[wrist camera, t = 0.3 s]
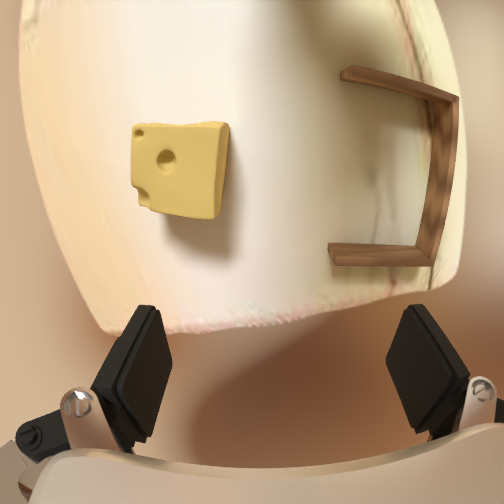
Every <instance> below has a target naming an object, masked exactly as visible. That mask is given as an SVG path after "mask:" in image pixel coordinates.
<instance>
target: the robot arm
mask: <svg viewBox="0 0 504 504" xmlns="http://www.w3.org/2000/svg"><path fill="white" fill-rule="evenodd" d="M386 365H387V368H388V370H389V372H390V375H391V377H392V380H393V382H394V385H395V387H396V390H397V392H398V394H399V397H400V399H401V402H402V405H403V407H404V410H405V413H406V415H407V418H408V421H409V424H410V426H411V427H412V428H414V430H415V432H416V434H418V433H421V432H424V431H427V430H429V433H430V435H429V437H428V440H427V442H426V443H423V444H420V445H417V446H413V447H410V448H407V449H403V450H399V451H396V452H392V453H388V454H384V455H380V456H375V457H370V458H365V459H360V460H354V461H349V462H342V463H336V464H328V465H319V466H309V467H297V468H271V469H270V468H269V469H250V468H249V469H248V468H227V467H214V466H203V465H195V464H186V463H179V462H173V461H166V460H161V459H155V458H150V457H145V456H139V455H136V454H135V452H134V450H133V448H132V447H134V444H135V441H137V442H142V443H146V439H147V437H151V435H152V433H153V429H154V426H155V422H156V419H157V415H158V412H159V409H160V405H161V402H162V398H163V395H164V391H165V388H166V385H167V382H168V379H169V375H170V372H171V369H172V357H171V353H170V350H169V346H168V342H167V338H166V334H165V330H164V326H163V322H162V318H161V313H160V311H159V310H156V308H155V306H152V305H139V306H138V307H137V309H136V311H135V312H134V314H133V316H132V317H131V319H130V321H129V323H128V324H127V326H126V328H125V330H124V331H123V333H122V335H121V336H120V337H118V339H117V340H116V341H115V343H114V345H113V346H112V348H111V350H110V352H109V354H108V356H107V357H106V359H105V361H104V363H103V365H102V367H101V369H100V370H99V372H98V374H97V376H96V378H95V380H94V382H93V384H92V386H91V388H90V389H88V388H85V387H78V388H74V389H72V390H70V391H68V392H67V393H66V394H65V395H64V396H63V398H62V399H61V403H60V409H59V410H57V411H54V412H52V413H49V414H47V415H44V416H41V417H39V418H36V419H34V420H32V421H28V422H26V423H24V424H22V425H21V426H20V427H19V428H18V431H17V432H16V437H15V438H16V441H15V442H13V441H12V440H10V441H9V442H8V443H6V444H5V445H4V446H2V447H1V448H0V504H504V401H503V400H501V399H498V398H497V391H496V388H495V386H494V384H493V383H492V382H491V381H490V380H489V379H487V378H485V377H481V376H478V377H474V378H472V379H471V381H470V380H469V379H468V377H469V376H470V373H469V371H468V369H467V368H466V366H465V364H464V363H463V361H462V360H461V358H460V356H459V355H458V353H457V352H456V350H455V349H454V347H453V346H452V344H451V343H450V341H449V340H448V338H447V337H446V335H445V334H444V332H443V331H442V330H441V328H440V327H439V325H438V324H437V323H436V321H435V320H434V319H433V317H432V316H431V314H430V313H429V312H428V310H427V309H426V307H425V306H424V305H423V304H414V305H409V306H408V308H407V309H405V310H404V312H403V315H402V318H401V321H400V323H399V326H398V329H397V331H396V334H395V336H394V339H393V342H392V344H391V347H390V349H389V352H388V354H387V356H386Z"/></svg>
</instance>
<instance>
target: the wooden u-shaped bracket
mask: <svg viewBox="0 0 504 504" xmlns="http://www.w3.org/2000/svg"><path fill="white" fill-rule="evenodd" d="M341 80H344V81H350V82H356V83H361V84H366V85H371V86H376V87H380V88H385V89H389V90H393V91H397V92H401V93H405V94H408V95H412V96H415V97H419V98H422V99H425V100H428V101H431V102H434V130H433V143H432V154H431V163H430V172H429V179H428V186H427V192H426V198H425V204H424V209H423V214H422V219H421V224H420V229H419V233H418V238H417V242H416V246H403V245H378V244H351V243H329V244H328V252H329V254H330V256H331V258H332V260H333V262H334V264H335V266H425V267H433V266H434V263H435V259H436V256H437V252H438V249H439V245H440V241H441V237H442V233H443V229H444V225H445V220H446V216H447V211H448V206H449V201H450V195H451V189H452V183H453V176H454V169H455V161H456V151H457V140H458V123H459V97H458V96H456V95H453V94H451V93H448V92H446V91H443V90H440V89H438V88H435V87H432V86H429V85H426V84H423V83H420V82H417V81H414V80H411V79H408V78H404V77H401V76H397V75H393V74H390V73H386V72H382V71H377V70H373V69H369V68H364V67H359V66H354V65H351V66H350V67H348V68H347V69H345V70H343V71H342V72H341Z"/></svg>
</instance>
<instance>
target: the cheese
mask: <svg viewBox="0 0 504 504" xmlns="http://www.w3.org/2000/svg"><path fill="white" fill-rule="evenodd" d="M229 132H230V127H229V125H228V124H227V123H225V122H216V121H211V122H202V123H196V124H188V125H171V124H161V123H149V124H136V125H133V127H132V143H131V185H132V186H133V187H134V188H136V189H137V190H138V194H139V197H138V203H139V205H141V206H145V207H148V208H149V209H150V210H151V211H154V212H158V213H164V214H171V215H177V216H183V217H188V218H194V219H203V220H214V219H215V218H216V217H217V216H218V215H219V213H220V211H221V204H222V194H223V186H224V178H225V170H226V160H227V149H228V140H229Z"/></svg>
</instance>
